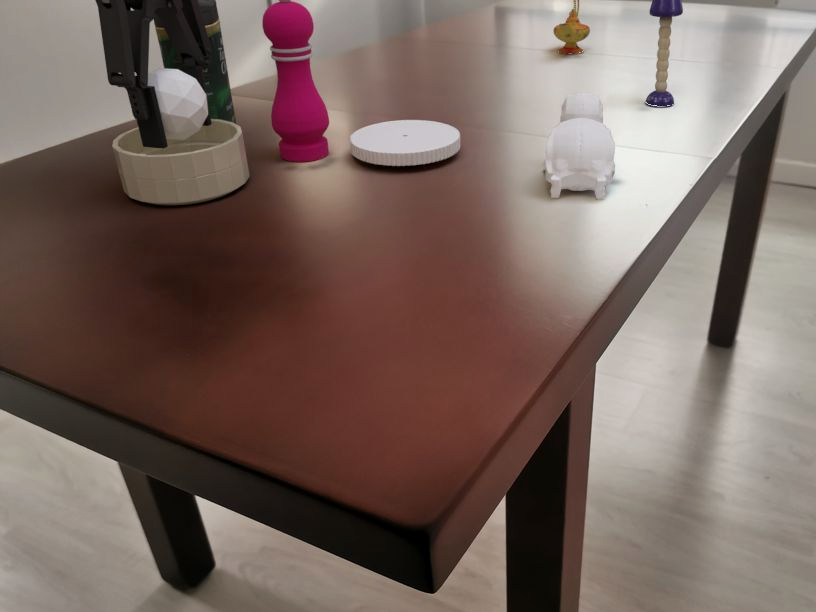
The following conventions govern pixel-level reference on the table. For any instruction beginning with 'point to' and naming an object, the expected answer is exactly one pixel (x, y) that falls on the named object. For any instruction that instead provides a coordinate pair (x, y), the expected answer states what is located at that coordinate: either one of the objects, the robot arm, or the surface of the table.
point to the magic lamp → (571, 32)
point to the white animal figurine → (580, 148)
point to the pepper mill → (295, 84)
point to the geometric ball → (179, 102)
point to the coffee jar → (213, 74)
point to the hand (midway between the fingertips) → (178, 134)
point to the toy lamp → (663, 49)
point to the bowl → (183, 165)
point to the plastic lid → (405, 142)
